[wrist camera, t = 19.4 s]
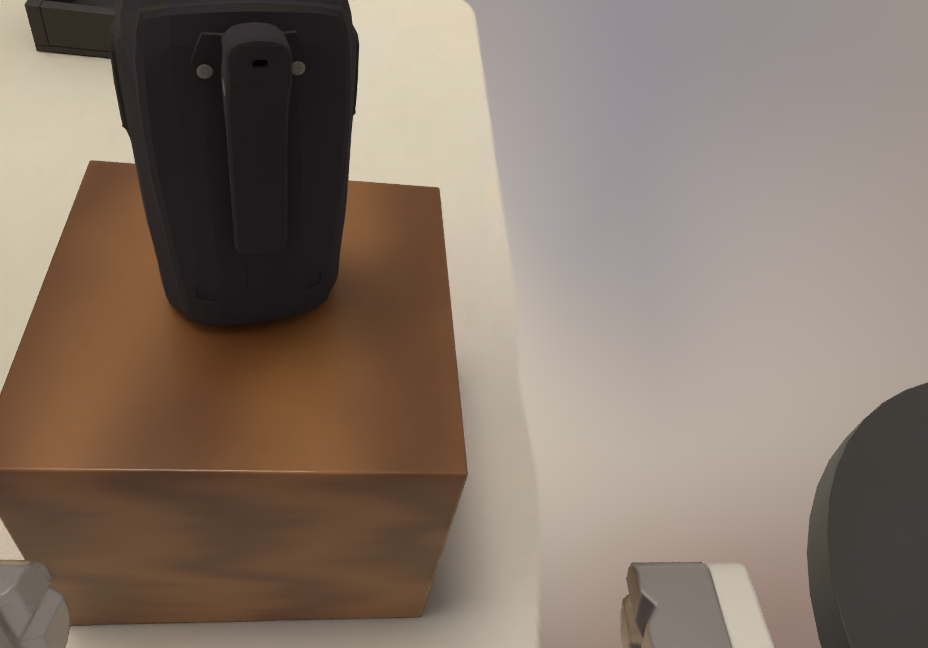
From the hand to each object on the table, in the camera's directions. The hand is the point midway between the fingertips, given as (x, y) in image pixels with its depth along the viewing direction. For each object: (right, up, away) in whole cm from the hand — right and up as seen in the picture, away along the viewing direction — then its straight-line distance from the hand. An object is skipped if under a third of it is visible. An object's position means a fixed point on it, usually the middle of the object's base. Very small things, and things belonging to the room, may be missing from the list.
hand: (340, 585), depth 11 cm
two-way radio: (-5, +4, +12) cm, 14 cm away
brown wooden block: (-6, -2, +20) cm, 21 cm away
